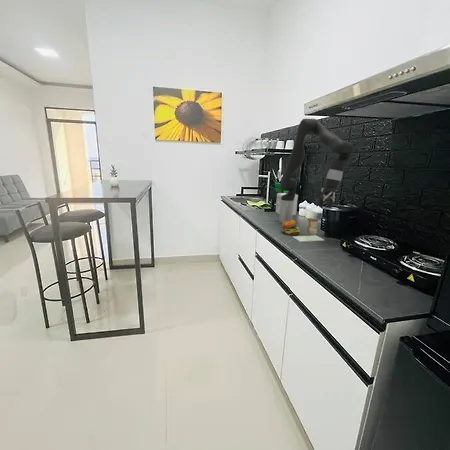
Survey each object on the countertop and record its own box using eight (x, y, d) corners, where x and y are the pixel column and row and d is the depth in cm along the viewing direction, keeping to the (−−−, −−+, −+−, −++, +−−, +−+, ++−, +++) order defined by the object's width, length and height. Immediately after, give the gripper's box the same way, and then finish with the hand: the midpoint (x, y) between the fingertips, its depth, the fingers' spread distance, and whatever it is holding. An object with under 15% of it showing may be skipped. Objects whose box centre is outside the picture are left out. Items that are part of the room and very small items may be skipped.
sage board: (315, 236, 157) (316, 235, 157) (324, 240, 148) (324, 239, 148) (292, 237, 153) (292, 236, 153) (300, 242, 145) (300, 241, 145)
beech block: (306, 233, 163) (307, 218, 160) (312, 233, 164) (314, 218, 161) (309, 235, 158) (311, 220, 156) (316, 235, 159) (318, 219, 157)
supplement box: (288, 211, 229) (289, 192, 224) (296, 215, 217) (298, 194, 212) (275, 212, 225) (276, 193, 220) (282, 215, 213) (284, 195, 208)
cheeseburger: (301, 236, 156) (298, 221, 153) (283, 238, 158) (281, 223, 156) (299, 231, 165) (297, 217, 163) (283, 234, 168) (280, 219, 166)
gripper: (335, 179, 143) (326, 206, 147) (319, 175, 135) (311, 204, 139) (347, 181, 137) (337, 210, 141) (331, 178, 129) (322, 208, 133)
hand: (324, 207), depth 140 cm, fingers open, 8 cm apart
